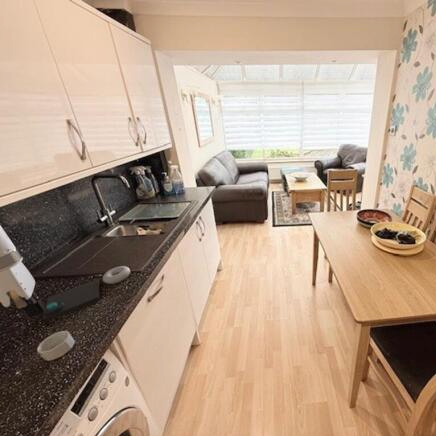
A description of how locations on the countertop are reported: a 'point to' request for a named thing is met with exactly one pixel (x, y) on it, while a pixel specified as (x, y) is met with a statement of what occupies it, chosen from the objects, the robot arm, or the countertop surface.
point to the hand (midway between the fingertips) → (37, 313)
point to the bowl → (56, 345)
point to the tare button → (52, 306)
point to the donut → (116, 275)
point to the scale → (72, 299)
